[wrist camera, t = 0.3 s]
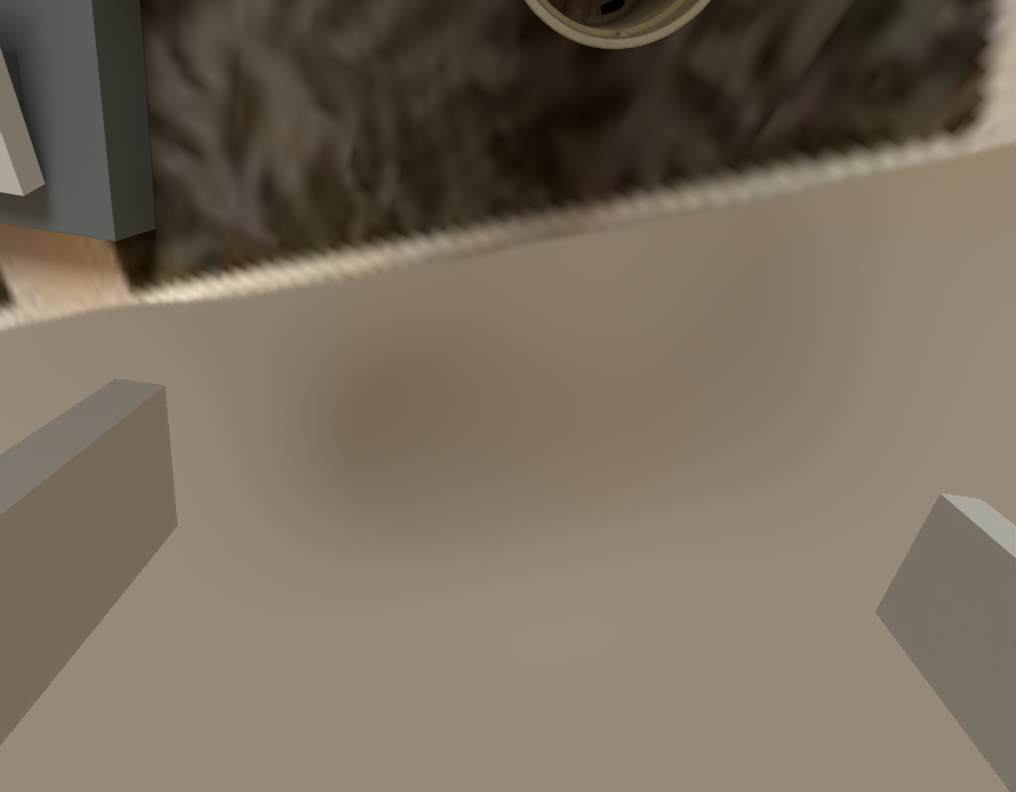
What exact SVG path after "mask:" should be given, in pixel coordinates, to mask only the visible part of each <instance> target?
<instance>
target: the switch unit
mask: <svg viewBox="0 0 1016 792" xmlns="http://www.w3.org/2000/svg"><path fill="white" fill-rule="evenodd" d="M0 48H1V51H2V54H3V57H4V60H5V64H6V67H7V70H8V73H9V76H10V79H11V82H12V85H13V88H14V91H15V94H16V97H17V100H18V103H19V106H20V109H21V112H22V115H23V118H24V121H25V124H26V127H27V130H28V133H29V136H30V139H31V142H32V145H33V148H34V152H35V155H36V158H37V161H38V164H39V167H40V170H41V173H42V176H43V179H44V182H45V184H44V185H42V186H40V187H39V188H37V189H35V190H33V191H32V192H30V193H28V194H26V195H25V196H21V195H15V194H9V193H3V192H0V223H5V224H11V225H17V226H23V227H29V228H35V229H41V230H47V231H53V232H62V233H68V234H74V235H80V236H86V237H92V238H98V239H104V240H110V241H118V240H122V239H125V238H128V237H131V236H134V235H138V234H141V233H144V232H147V231H150V230H153V229H156V220H155V206H154V192H153V178H152V163H151V149H150V135H149V120H148V106H147V92H146V78H145V63H144V49H143V35H142V21H141V6H140V0H0Z"/></svg>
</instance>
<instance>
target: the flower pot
mask: <svg viewBox="0 0 1016 792" xmlns="http://www.w3.org/2000/svg"><path fill="white" fill-rule="evenodd" d="M610 1H612V0H525V2H526V3H527V4H528V6H529V7H530V8H531V10H532V11H533V12H534V13H535V14H536V15H537V16H538V17H539V18H540V19H541V20H542V21H543V22H544V23H546V24H547V25H548V26H550V27H551V28H552V29H553V30H555V31H556V32H558V33H559V34H561V35H563V36H564V37H566V38H568V39H571V40H573V41H575V42H578V43H580V44H584V45H587V46H591V47H596V48H604V49H625V48H633V47H638V46H642V45H645V44H649V43H652V42H654V41H657V40H659V39H661V38H664V37H666V36H668V35H669V34H671V33H673V32H675V31H676V30H678V29H679V28H681V27H682V26H684V25H685V24H687V23H688V22H689V21H690V20H691V19H693V18H694V17H695V16H696V15H697V14H698V13H699V12H700V11H701V10H702V9H703V8H704V7H705V6H706V5H707V4H708V3H709V2H710V0H624V4H623V6H622V7H621V8H620V9H619V10H616V11H614V12H610V13H608V14H601V6H602V5H604V4H606V3H608V2H610Z"/></svg>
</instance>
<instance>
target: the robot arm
mask: <svg viewBox="0 0 1016 792" xmlns="http://www.w3.org/2000/svg"><path fill="white" fill-rule="evenodd" d="M176 527H177V516H176V504H175V493H174V481H173V470H172V459H171V447H170V436H169V424H168V413H167V402H166V390H165V386H163V385H157V384H150V383H142V382H135V381H128V380H121V379H114V380H113V381H111V382H110V383H108V384H107V385H105V386H104V387H102V388H101V389H99V390H98V391H96V392H95V393H93V394H92V395H90V396H89V397H87V398H86V399H84V400H83V401H81V402H80V403H78V404H77V405H75V406H74V407H72V408H71V409H69V410H67V411H66V412H64V413H63V414H62V415H60V416H58V417H57V418H56V419H54V420H52V421H51V422H50V423H48V424H47V425H45V426H43V427H42V428H40V429H39V430H37V431H36V432H35V433H33V434H32V435H30V436H28V437H27V438H25V439H24V440H22V441H21V442H19V443H18V444H16V445H15V446H13V447H12V448H10V449H9V450H7V451H6V452H4V453H3V454H1V455H0V745H1V744H2V743H3V742H4V740H5V739H6V738H7V736H8V735H9V734H10V733H11V732H12V730H13V729H14V728H15V727H16V725H17V724H18V723H19V722H20V720H21V719H22V718H23V717H24V716H25V714H26V713H27V712H28V710H29V709H30V708H31V707H32V706H33V704H34V703H35V702H36V701H37V699H38V698H39V697H40V696H41V694H42V693H43V692H44V691H45V689H46V688H47V687H48V686H49V685H50V683H51V682H52V681H53V680H54V678H55V677H56V676H57V674H58V673H59V672H60V671H61V670H62V668H63V667H64V666H65V665H66V663H67V662H68V661H69V660H70V658H71V657H72V656H73V655H74V653H75V652H76V651H77V650H78V649H79V647H80V646H81V645H82V644H83V642H84V641H85V640H86V639H87V637H88V636H89V635H90V633H91V632H92V631H93V630H94V629H95V627H96V626H97V625H98V624H99V622H100V621H101V620H102V619H103V618H104V616H105V615H106V614H107V613H108V611H109V610H110V609H111V608H112V606H113V605H114V604H115V603H116V601H117V600H118V599H119V598H120V596H121V595H122V594H123V593H124V591H125V590H126V589H127V588H128V587H129V585H130V584H131V583H132V582H133V580H134V579H135V578H136V577H137V575H138V574H139V573H140V572H141V570H142V569H143V568H144V567H145V565H146V564H147V563H148V562H149V560H150V559H151V558H152V557H153V555H154V554H155V553H156V552H157V551H158V549H159V548H160V547H161V546H162V544H163V543H164V542H165V541H166V539H167V538H168V537H169V536H170V534H171V533H172V532H173V531H174V529H175V528H176ZM875 612H876V614H877V615H878V616H879V618H880V619H881V620H882V621H883V623H884V624H885V626H886V627H887V628H888V630H889V631H890V632H891V634H892V635H893V636H894V638H895V639H896V640H897V641H898V643H899V644H900V646H901V647H902V648H903V650H904V651H905V652H906V654H907V655H908V656H909V658H910V659H911V660H912V662H913V663H914V664H915V666H916V667H917V668H918V670H919V671H920V672H921V674H922V675H923V676H924V678H925V679H926V680H927V682H928V683H929V684H930V686H931V687H932V688H933V690H934V691H935V692H936V694H937V695H938V696H939V698H940V699H941V700H942V702H943V703H944V704H945V706H946V707H947V708H948V710H949V711H950V712H951V714H952V715H953V716H954V718H955V719H956V720H957V721H958V723H959V724H960V726H961V727H962V728H963V730H964V731H965V732H966V733H967V735H968V736H969V737H970V739H971V740H972V742H973V743H974V744H975V746H976V747H977V748H978V750H979V751H980V752H981V754H982V755H983V756H984V758H985V759H986V760H987V762H988V763H989V764H990V766H991V767H992V768H993V770H994V771H995V772H996V774H997V775H998V776H999V778H1000V779H1001V780H1002V782H1003V783H1004V784H1005V786H1006V787H1007V788H1008V790H1009V791H1010V792H1016V526H1015V525H1013V524H1012V523H1011V522H1009V521H1008V520H1007V519H1006V518H1005V517H1003V516H1002V515H1001V514H1000V513H998V512H997V511H996V510H994V509H993V508H992V507H991V506H989V505H988V504H987V503H986V502H984V501H983V500H982V499H977V498H969V497H962V496H955V495H948V494H940V495H939V497H938V499H937V501H936V502H935V504H934V506H933V508H932V510H931V512H930V514H929V515H928V517H927V519H926V521H925V523H924V525H923V526H922V528H921V530H920V532H919V534H918V535H917V537H916V539H915V541H914V543H913V544H912V546H911V548H910V550H909V551H908V553H907V555H906V557H905V559H904V561H903V562H902V564H901V566H900V568H899V570H898V571H897V573H896V575H895V577H894V579H893V580H892V582H891V584H890V586H889V588H888V590H887V591H886V593H885V595H884V597H883V599H882V601H881V602H880V604H879V606H878V608H877V610H876V611H875Z"/></svg>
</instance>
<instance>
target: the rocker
mask: <svg viewBox="0 0 1016 792" xmlns="http://www.w3.org/2000/svg"><path fill="white" fill-rule="evenodd" d="M44 184H45V182H44V179H43V176H42V173H41V170H40V167H39V164H38V161H37V158H36V155H35V152H34V148H33V145H32V142H31V139H30V136H29V133H28V130H27V127H26V124H25V121H24V118H23V115H22V112H21V109H20V106H19V103H18V100H17V97H16V94H15V91H14V88H13V85H12V82H11V79H10V76H9V73H8V70H7V67H6V64H5V60H4V57H3V54H2V51H1V48H0V192H3V193H9V194H15V195H21V196H25V195H26V194H28V193H30V192H32V191H33V190H35V189H37V188H39V187H40V186H42V185H44Z"/></svg>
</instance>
